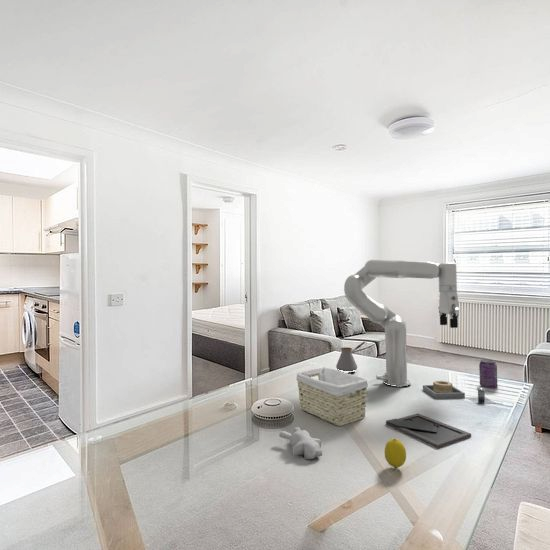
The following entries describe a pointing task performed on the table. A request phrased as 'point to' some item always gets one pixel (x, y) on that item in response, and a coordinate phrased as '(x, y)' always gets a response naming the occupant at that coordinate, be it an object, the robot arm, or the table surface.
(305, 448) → the bunny figurine
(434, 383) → the maple ring
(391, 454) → the lemon
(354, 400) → the storage basket
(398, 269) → the robot arm
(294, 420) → the table surface
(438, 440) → the picture frame
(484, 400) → the grey knobbed square plate
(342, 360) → the coffee pot
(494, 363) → the beverage can
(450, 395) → the charcoal tray
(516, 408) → the table surface
